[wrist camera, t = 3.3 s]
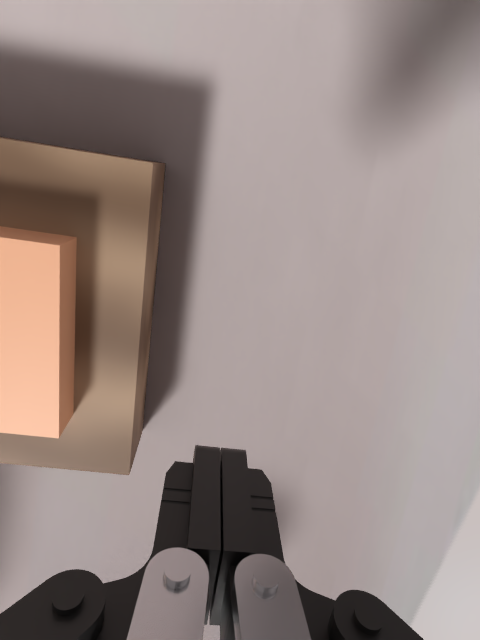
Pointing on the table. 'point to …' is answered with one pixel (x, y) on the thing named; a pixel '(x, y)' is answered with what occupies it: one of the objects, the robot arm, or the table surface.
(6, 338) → the tile
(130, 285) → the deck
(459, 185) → the table surface
